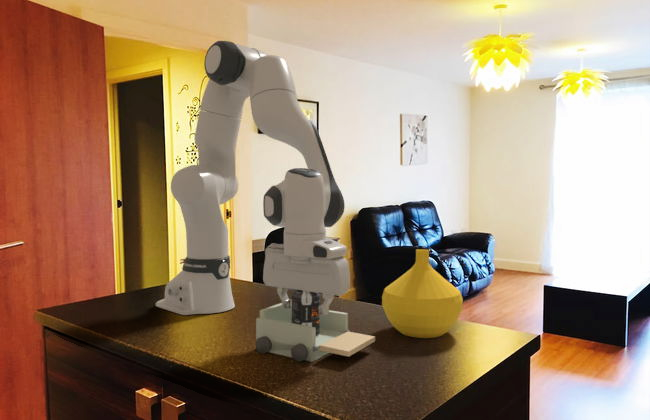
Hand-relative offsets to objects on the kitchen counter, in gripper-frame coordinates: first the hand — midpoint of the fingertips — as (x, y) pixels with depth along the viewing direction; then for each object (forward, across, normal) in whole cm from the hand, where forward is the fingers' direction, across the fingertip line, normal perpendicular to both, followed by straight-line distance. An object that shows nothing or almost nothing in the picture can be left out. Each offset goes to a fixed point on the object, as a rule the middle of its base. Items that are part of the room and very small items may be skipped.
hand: (304, 311), depth 111 cm
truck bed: (+8, 0, 0) cm, 8 cm away
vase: (+8, +17, +23) cm, 30 cm away
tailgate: (+5, +7, 0) cm, 9 cm away
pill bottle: (+5, 0, 0) cm, 5 cm away
